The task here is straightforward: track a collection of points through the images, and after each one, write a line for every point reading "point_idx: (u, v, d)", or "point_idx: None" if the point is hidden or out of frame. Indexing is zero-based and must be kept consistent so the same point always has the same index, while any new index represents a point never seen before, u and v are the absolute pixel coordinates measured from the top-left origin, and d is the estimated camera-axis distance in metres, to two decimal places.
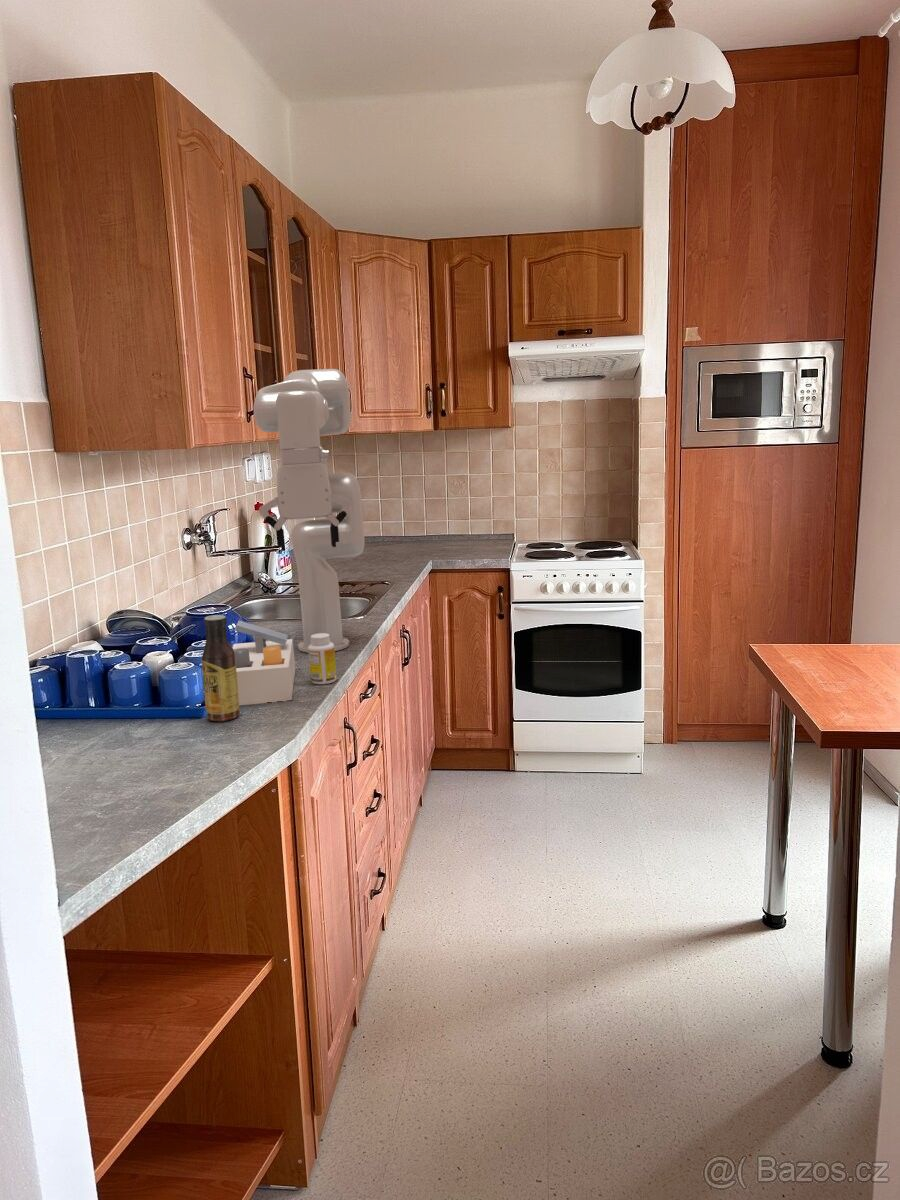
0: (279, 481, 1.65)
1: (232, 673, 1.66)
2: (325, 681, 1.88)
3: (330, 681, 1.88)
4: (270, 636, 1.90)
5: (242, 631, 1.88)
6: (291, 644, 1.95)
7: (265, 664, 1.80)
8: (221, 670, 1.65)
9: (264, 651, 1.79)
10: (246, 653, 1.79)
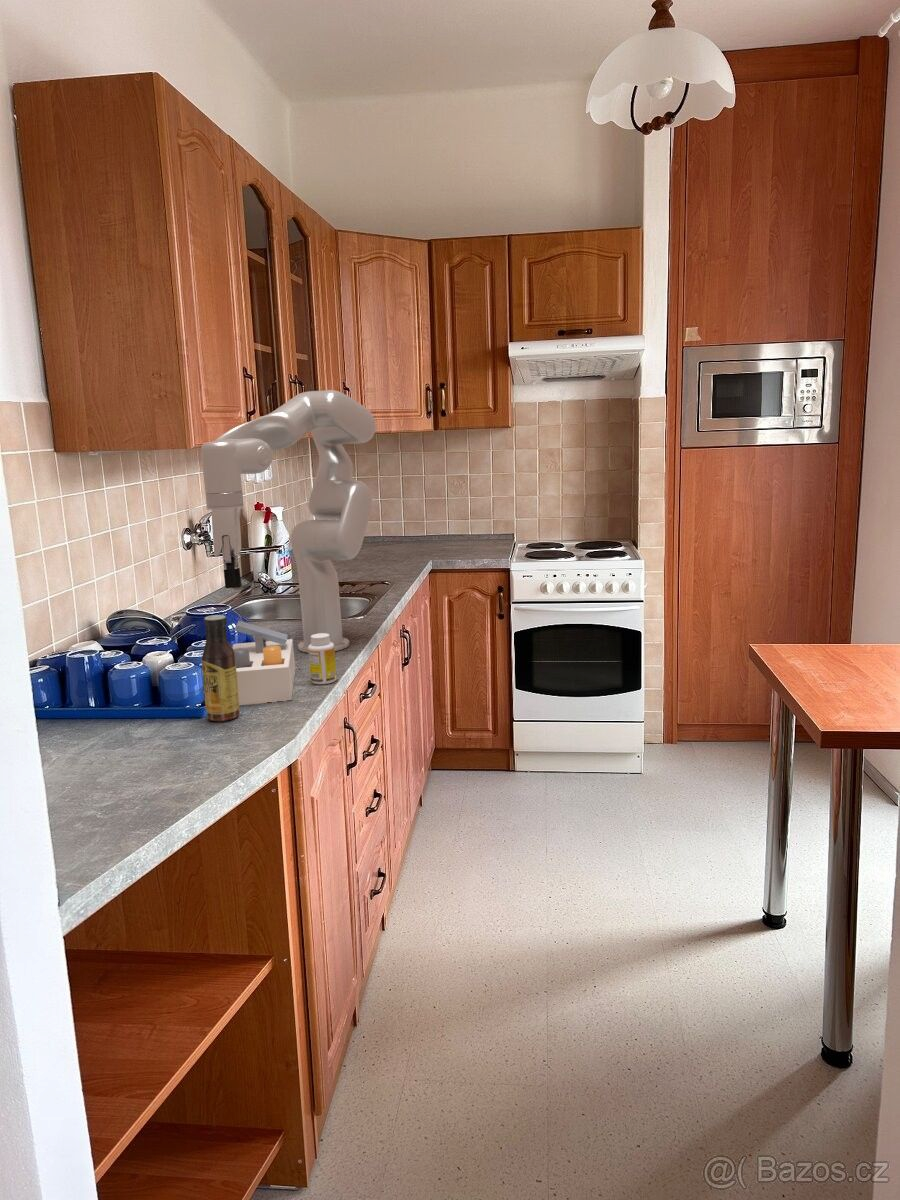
0: (233, 521, 1.82)
1: (232, 673, 1.66)
2: (325, 681, 1.88)
3: (330, 681, 1.88)
4: (270, 636, 1.90)
5: (242, 631, 1.88)
6: (291, 644, 1.95)
7: (265, 664, 1.80)
8: (221, 670, 1.65)
9: (264, 651, 1.79)
10: (246, 653, 1.79)
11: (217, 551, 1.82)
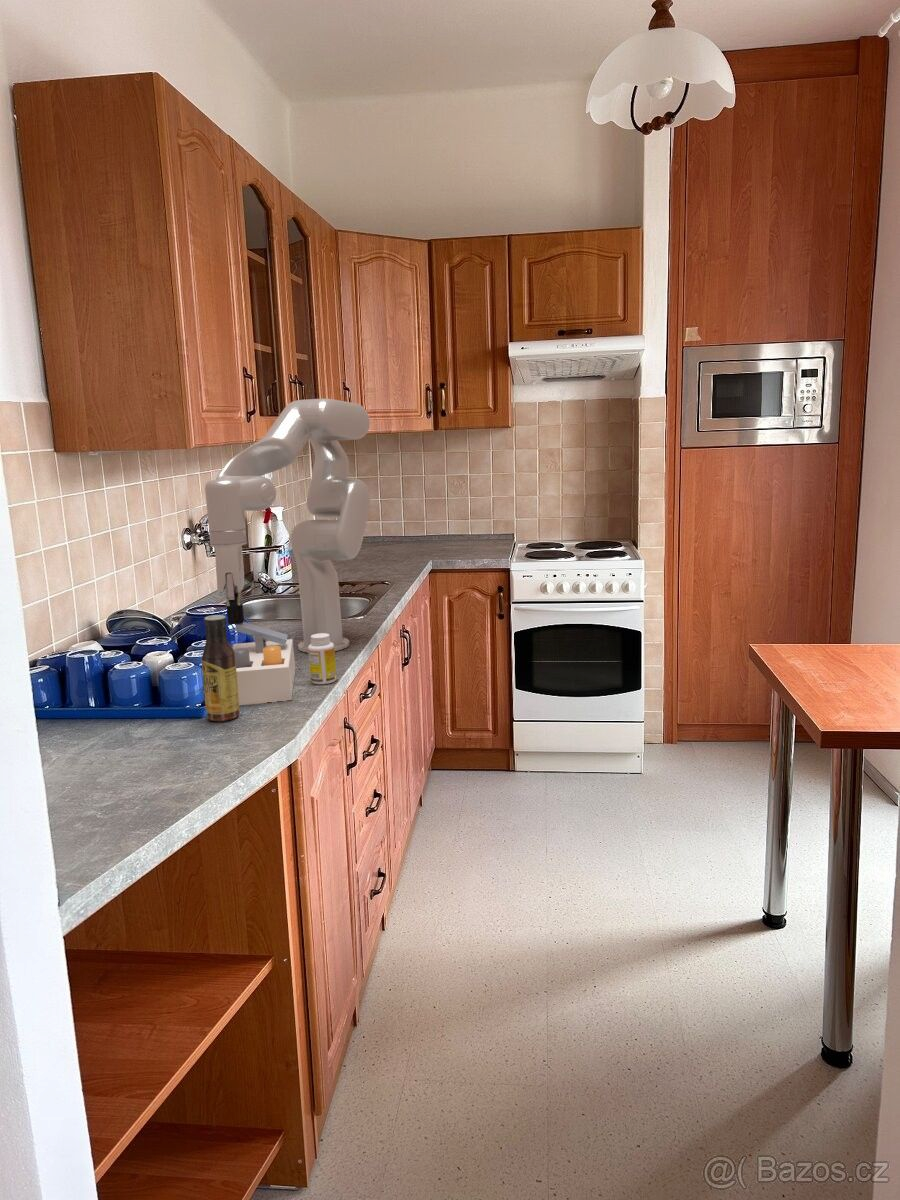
0: (236, 559, 1.83)
1: (232, 673, 1.66)
2: (325, 681, 1.88)
3: (330, 681, 1.88)
4: (270, 636, 1.90)
5: (242, 631, 1.88)
6: (291, 644, 1.95)
7: (265, 664, 1.80)
8: (221, 670, 1.65)
9: (264, 651, 1.79)
10: (246, 653, 1.79)
11: (220, 588, 1.83)
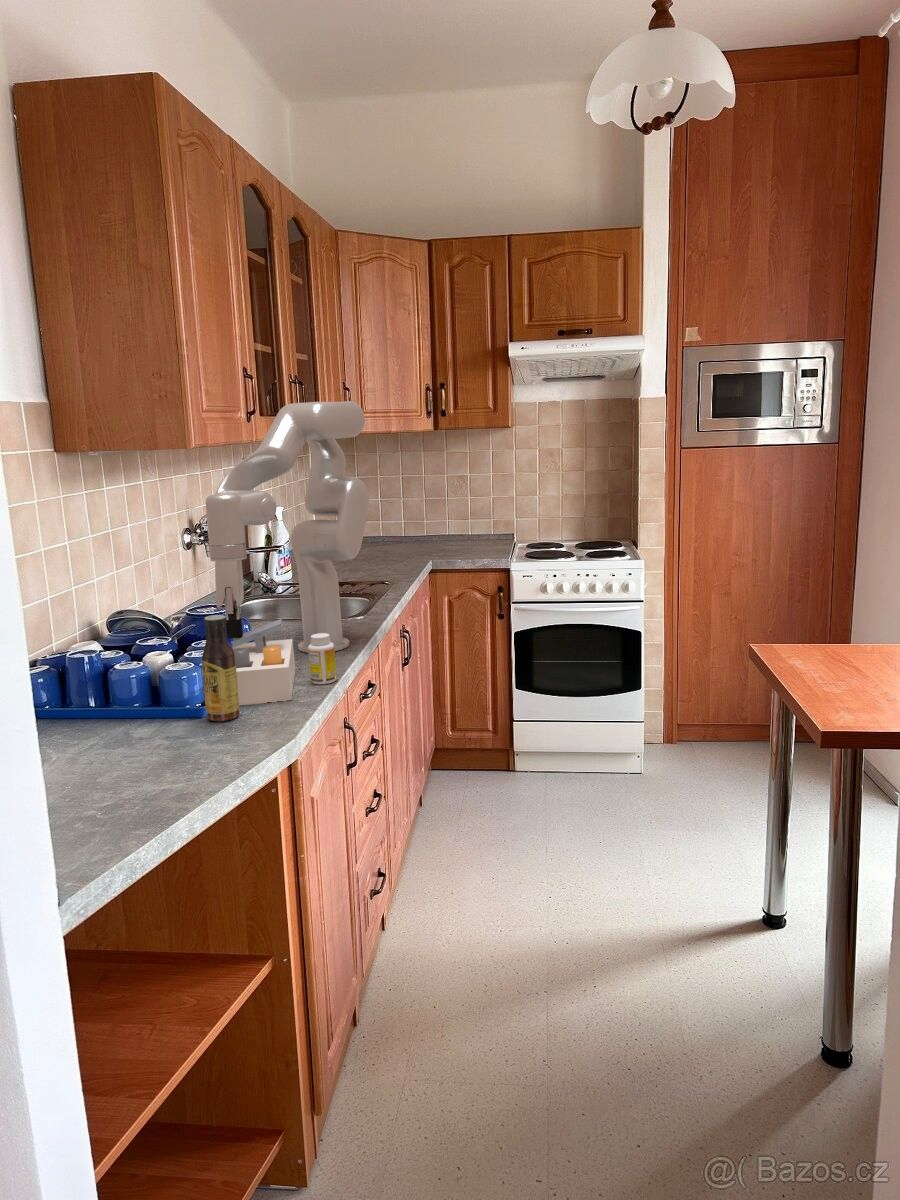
0: (236, 573, 1.84)
1: (232, 673, 1.66)
2: (325, 681, 1.88)
3: (330, 681, 1.88)
4: (265, 630, 1.89)
5: (240, 643, 1.89)
6: (291, 644, 1.95)
7: (265, 664, 1.80)
8: (221, 670, 1.65)
9: (264, 651, 1.79)
10: (246, 653, 1.79)
11: (220, 602, 1.84)
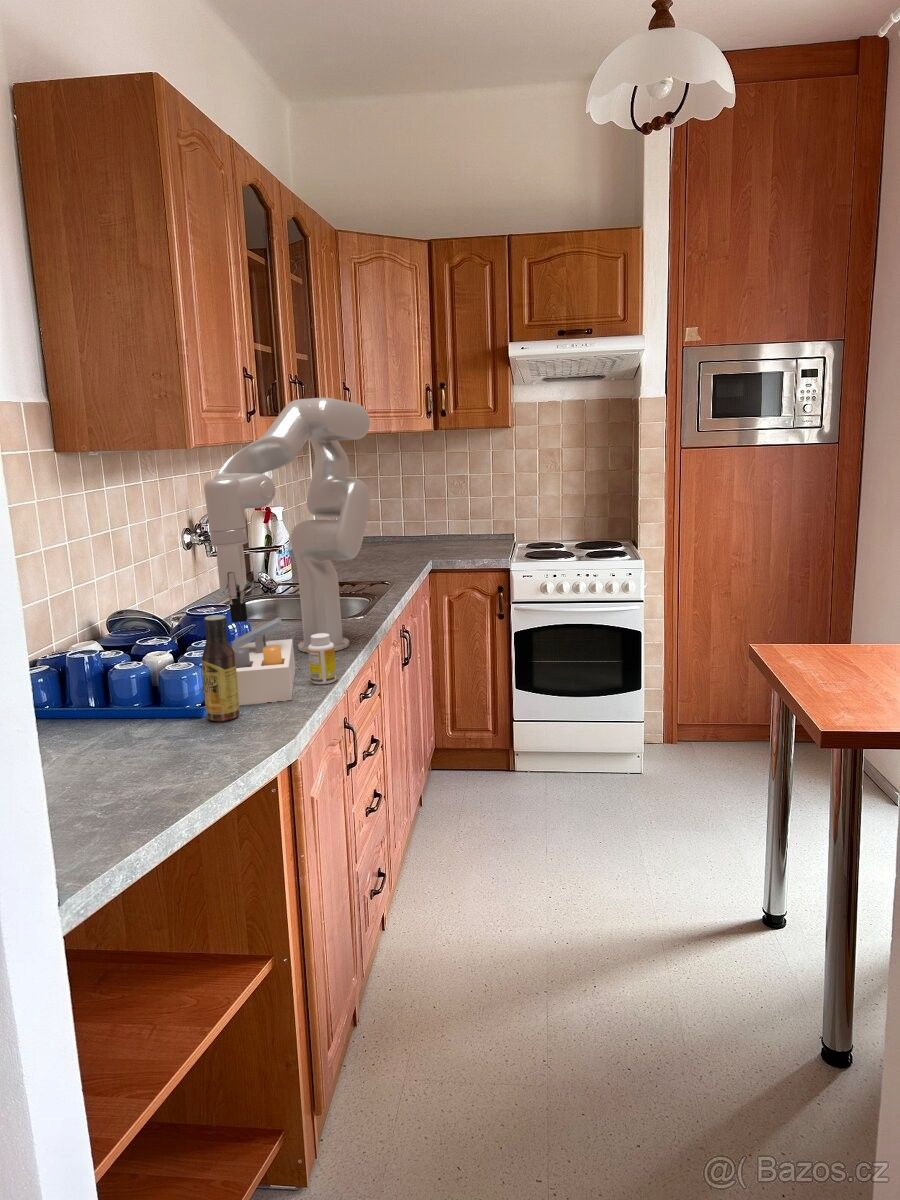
0: (238, 558, 1.84)
1: (232, 673, 1.66)
2: (325, 681, 1.88)
3: (330, 681, 1.88)
4: (264, 630, 1.89)
5: (240, 645, 1.89)
6: (291, 644, 1.95)
7: (265, 664, 1.80)
8: (221, 670, 1.65)
9: (264, 651, 1.79)
10: (246, 653, 1.79)
11: (223, 588, 1.84)
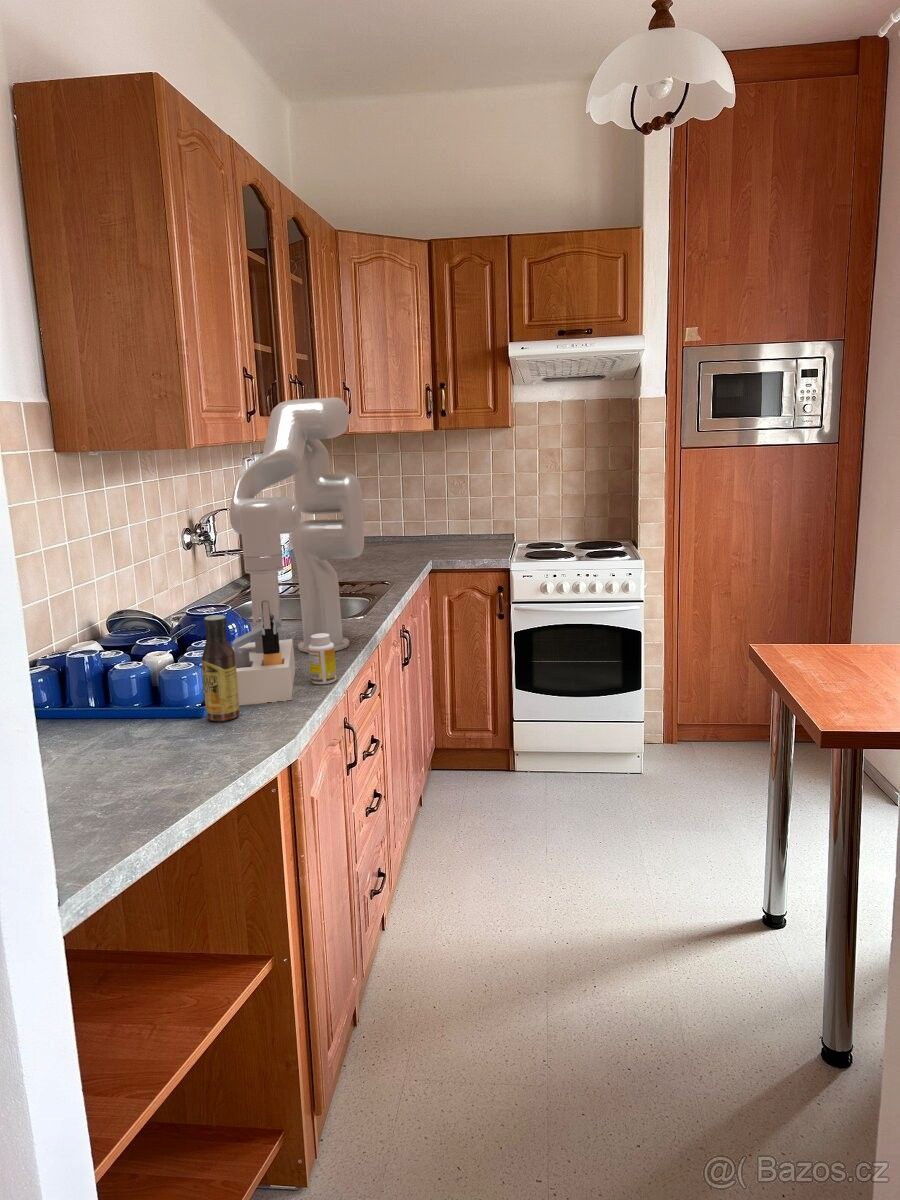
0: (273, 586, 1.74)
1: (232, 673, 1.66)
2: (325, 681, 1.88)
3: (330, 681, 1.88)
4: None
5: (240, 645, 1.89)
6: (291, 644, 1.95)
7: None
8: (221, 670, 1.65)
9: (264, 656, 1.79)
10: (246, 653, 1.79)
11: (256, 617, 1.74)
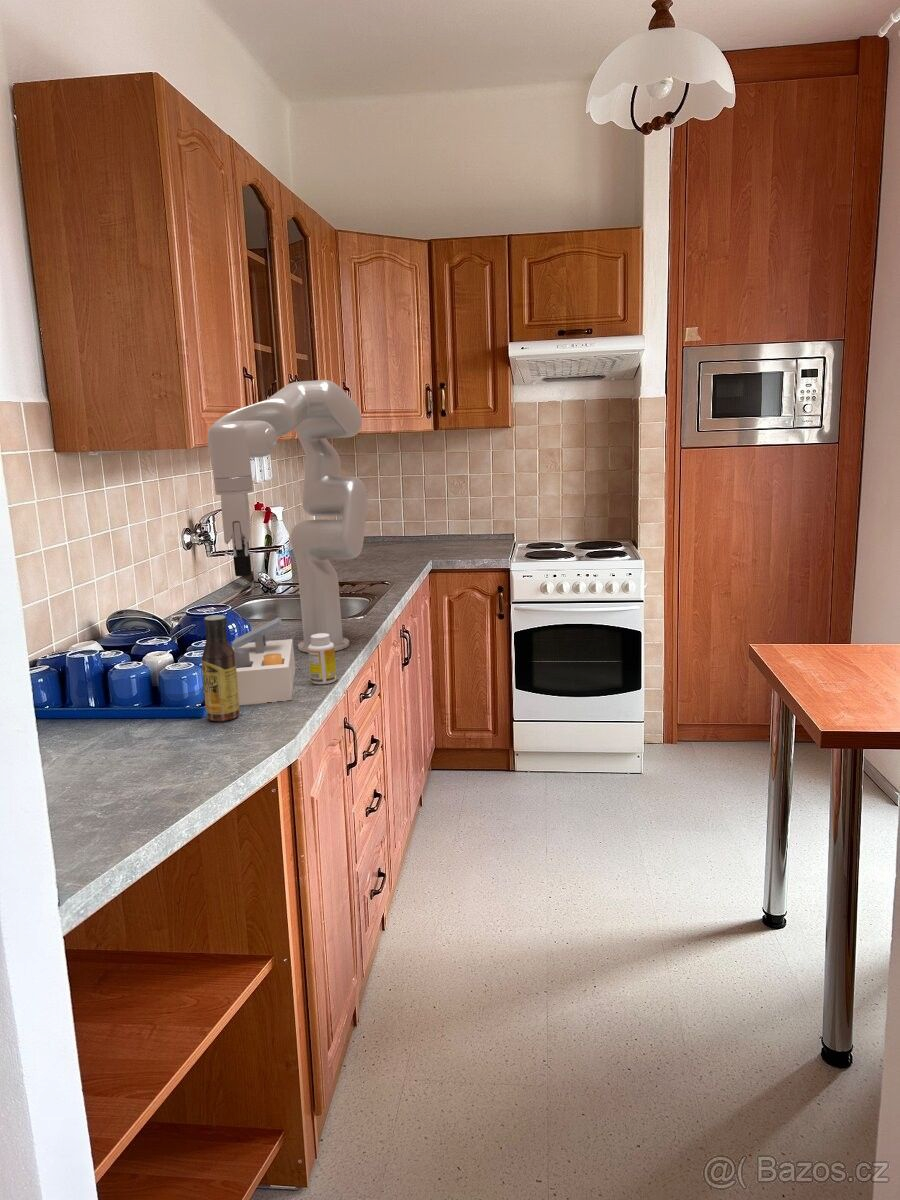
0: (244, 507, 1.75)
1: (232, 673, 1.66)
2: (325, 681, 1.88)
3: (330, 681, 1.88)
4: (264, 630, 1.89)
5: (240, 645, 1.89)
6: (291, 644, 1.95)
7: None
8: (221, 670, 1.65)
9: (265, 659, 1.80)
10: (246, 653, 1.79)
11: (227, 538, 1.75)
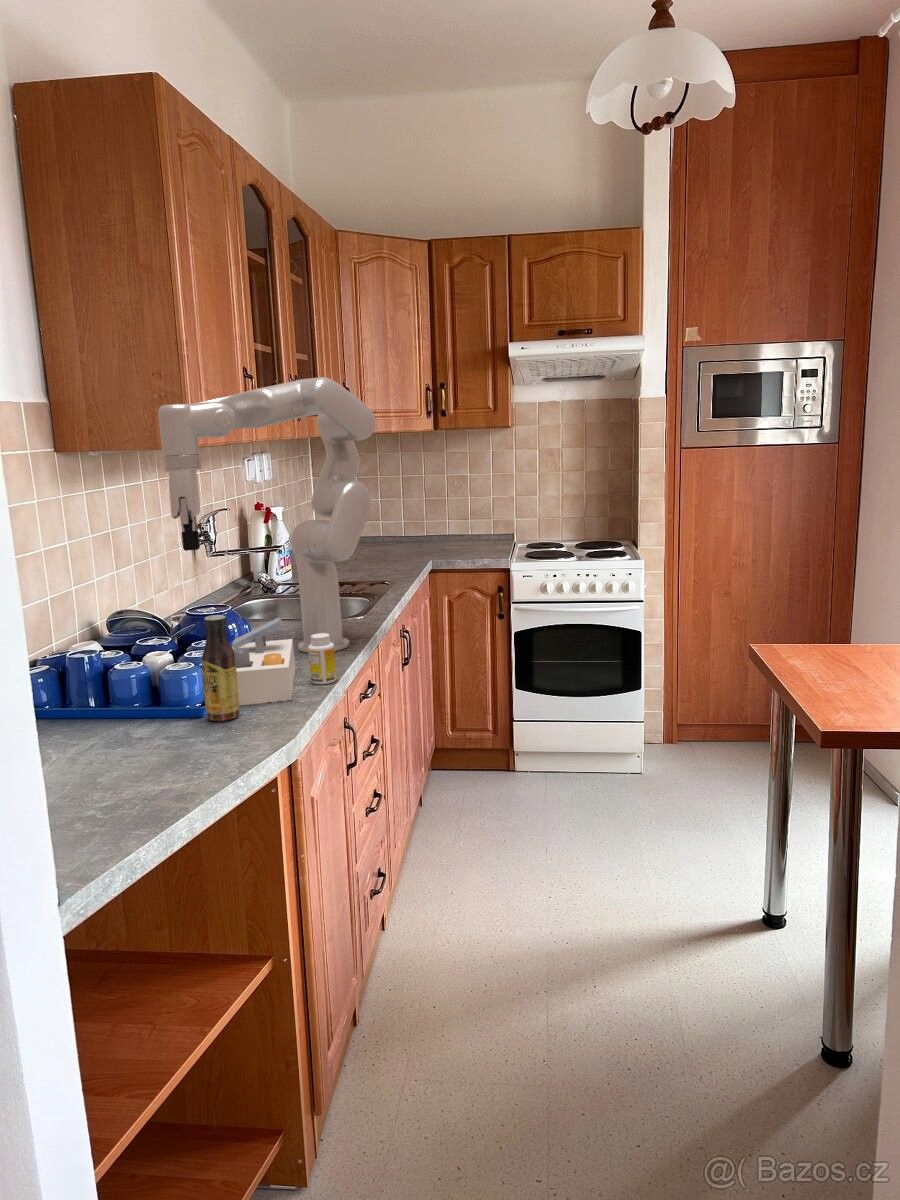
0: (190, 483, 1.84)
1: (232, 673, 1.66)
2: (325, 681, 1.88)
3: (330, 681, 1.88)
4: (264, 630, 1.89)
5: (240, 645, 1.89)
6: (291, 644, 1.95)
7: None
8: (221, 670, 1.65)
9: (265, 659, 1.80)
10: (246, 653, 1.79)
11: (174, 513, 1.84)
